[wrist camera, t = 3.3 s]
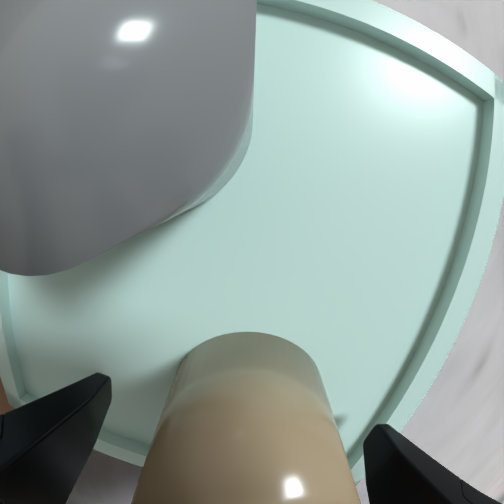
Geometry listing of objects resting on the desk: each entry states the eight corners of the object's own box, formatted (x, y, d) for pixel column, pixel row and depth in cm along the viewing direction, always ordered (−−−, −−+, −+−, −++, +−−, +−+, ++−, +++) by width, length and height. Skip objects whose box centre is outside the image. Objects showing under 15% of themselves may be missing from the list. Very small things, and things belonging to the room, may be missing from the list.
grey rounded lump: (272, 60, 6) (301, -85, 1) (227, 233, 7) (181, 336, 2) (111, 42, 6) (6, -43, 1) (69, 196, 7) (-78, 227, 2)
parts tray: (491, 94, 7) (512, 88, 5) (345, 472, 11) (350, 491, 9) (67, -6, 6) (52, -19, 5) (21, 390, 10) (9, 404, 8)
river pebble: (343, 347, 8) (410, 484, 3) (293, 445, 9) (309, 560, 4) (185, 314, 8) (120, 462, 3) (168, 423, 9) (134, 541, 4)
